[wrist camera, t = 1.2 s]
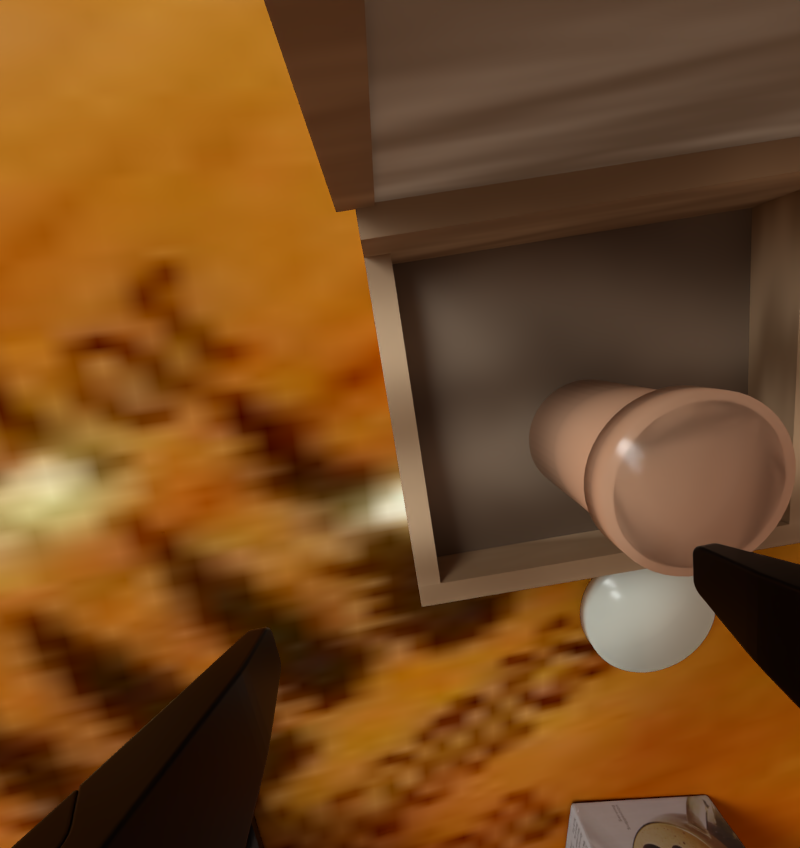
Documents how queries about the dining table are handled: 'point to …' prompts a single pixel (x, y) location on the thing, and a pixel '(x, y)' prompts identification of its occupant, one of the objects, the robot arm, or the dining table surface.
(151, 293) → the dining table surface
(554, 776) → the dining table surface
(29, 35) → the dining table surface
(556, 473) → the terracotta pot
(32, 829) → the robot arm
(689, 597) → the saucer
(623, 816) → the coffee box
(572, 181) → the open wooden box
